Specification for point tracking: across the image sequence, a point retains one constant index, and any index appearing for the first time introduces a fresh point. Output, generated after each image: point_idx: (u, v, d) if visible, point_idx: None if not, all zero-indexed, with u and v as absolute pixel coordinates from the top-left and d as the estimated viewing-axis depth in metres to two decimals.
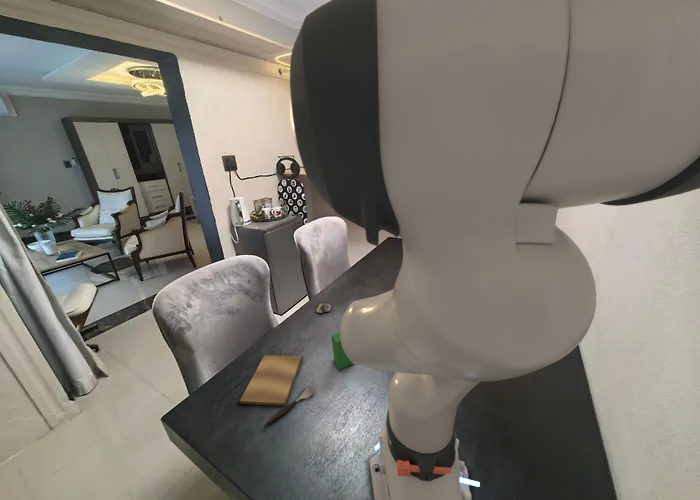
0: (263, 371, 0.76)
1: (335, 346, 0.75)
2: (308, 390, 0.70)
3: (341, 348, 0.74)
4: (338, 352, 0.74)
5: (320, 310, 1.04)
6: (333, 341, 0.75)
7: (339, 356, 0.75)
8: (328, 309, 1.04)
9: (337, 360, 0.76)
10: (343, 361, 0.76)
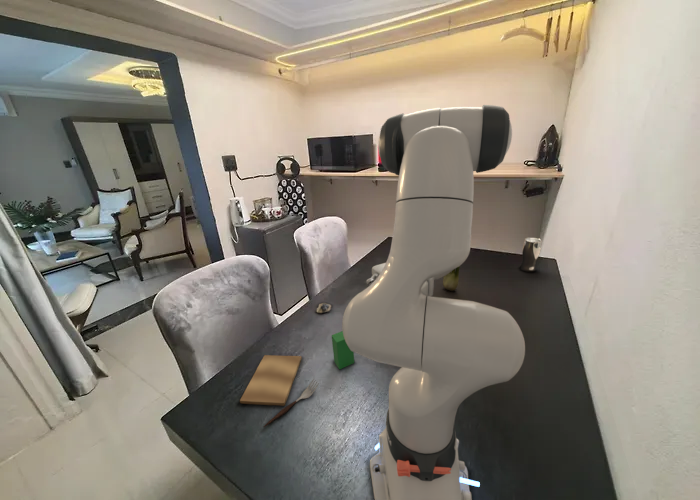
0: (263, 371, 0.76)
1: (335, 346, 0.75)
2: (308, 390, 0.70)
3: (341, 348, 0.74)
4: (338, 352, 0.74)
5: (320, 310, 1.04)
6: (333, 341, 0.75)
7: (339, 356, 0.75)
8: (328, 309, 1.04)
9: (337, 360, 0.76)
10: (343, 361, 0.76)
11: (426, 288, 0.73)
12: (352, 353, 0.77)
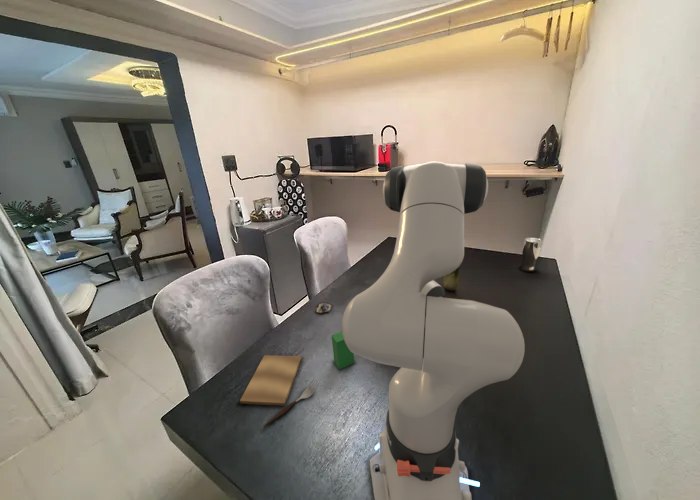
0: (263, 371, 0.76)
1: (335, 346, 0.75)
2: (308, 390, 0.70)
3: (341, 348, 0.74)
4: (338, 352, 0.74)
5: (320, 310, 1.04)
6: (333, 341, 0.75)
7: (339, 356, 0.75)
8: (328, 309, 1.04)
9: (337, 360, 0.76)
10: (343, 361, 0.76)
11: None
12: (352, 353, 0.77)
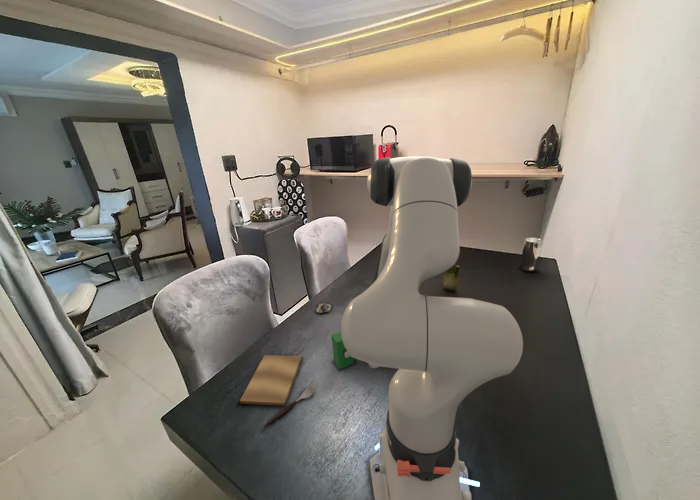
0: (263, 371, 0.76)
1: (335, 346, 0.75)
2: (308, 390, 0.70)
3: (341, 348, 0.74)
4: (338, 352, 0.74)
5: (320, 310, 1.04)
6: (333, 341, 0.75)
7: (339, 356, 0.75)
8: (328, 309, 1.04)
9: (337, 360, 0.76)
10: (343, 361, 0.76)
11: None
12: None
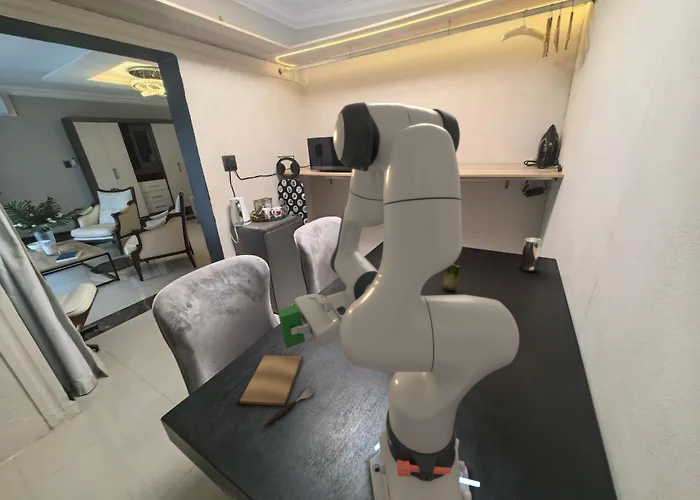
0: (263, 371, 0.76)
1: (281, 322, 0.68)
2: (308, 390, 0.70)
3: (287, 324, 0.68)
4: (283, 329, 0.68)
5: None
6: (279, 317, 0.69)
7: (285, 333, 0.68)
8: None
9: (284, 338, 0.69)
10: (291, 339, 0.70)
11: (337, 328, 0.66)
12: None
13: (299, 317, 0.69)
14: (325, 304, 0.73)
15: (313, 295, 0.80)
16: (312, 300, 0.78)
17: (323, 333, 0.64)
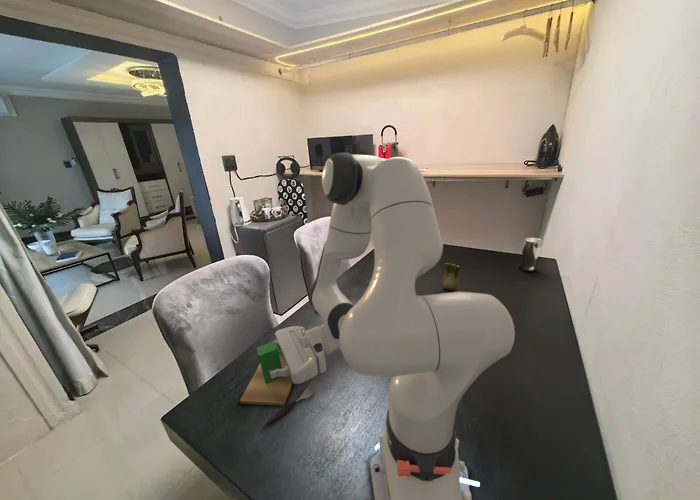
0: None
1: None
2: (308, 390, 0.70)
3: (265, 362, 0.70)
4: (262, 366, 0.70)
5: None
6: None
7: (264, 370, 0.71)
8: None
9: (263, 374, 0.72)
10: (269, 375, 0.72)
11: (313, 366, 0.68)
12: (280, 366, 0.73)
13: (277, 354, 0.71)
14: (303, 340, 0.75)
15: (293, 328, 0.82)
16: (292, 334, 0.80)
17: (299, 373, 0.66)
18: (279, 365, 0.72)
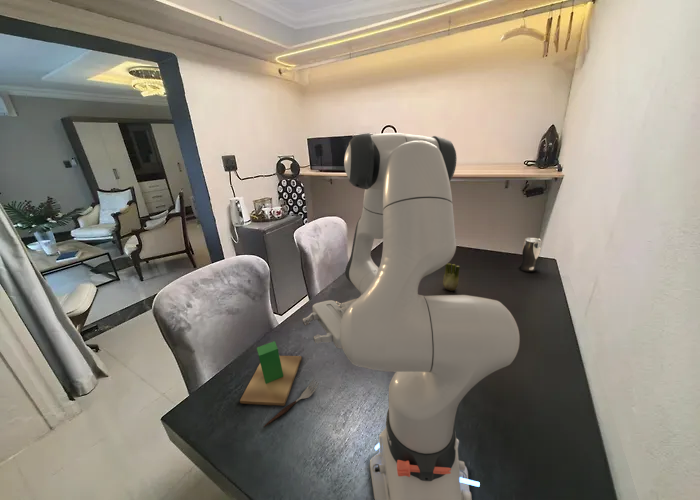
0: None
1: None
2: (308, 390, 0.70)
3: (265, 362, 0.70)
4: (262, 366, 0.70)
5: None
6: None
7: (264, 370, 0.71)
8: None
9: (263, 374, 0.72)
10: (269, 375, 0.72)
11: None
12: (280, 366, 0.73)
13: (277, 354, 0.71)
14: (342, 310, 0.78)
15: (329, 302, 0.86)
16: (329, 307, 0.83)
17: None
18: (279, 365, 0.72)
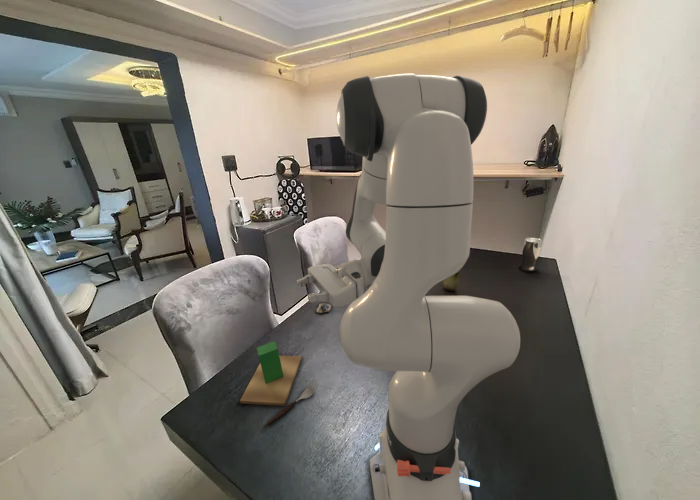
0: None
1: None
2: (308, 390, 0.70)
3: (265, 362, 0.70)
4: (262, 366, 0.70)
5: (320, 310, 1.04)
6: None
7: (264, 370, 0.71)
8: (328, 309, 1.04)
9: (263, 374, 0.72)
10: (269, 375, 0.72)
11: (353, 291, 0.67)
12: (280, 366, 0.73)
13: (277, 354, 0.71)
14: (339, 270, 0.74)
15: (326, 265, 0.81)
16: (325, 269, 0.79)
17: (339, 294, 0.64)
18: (279, 365, 0.72)
